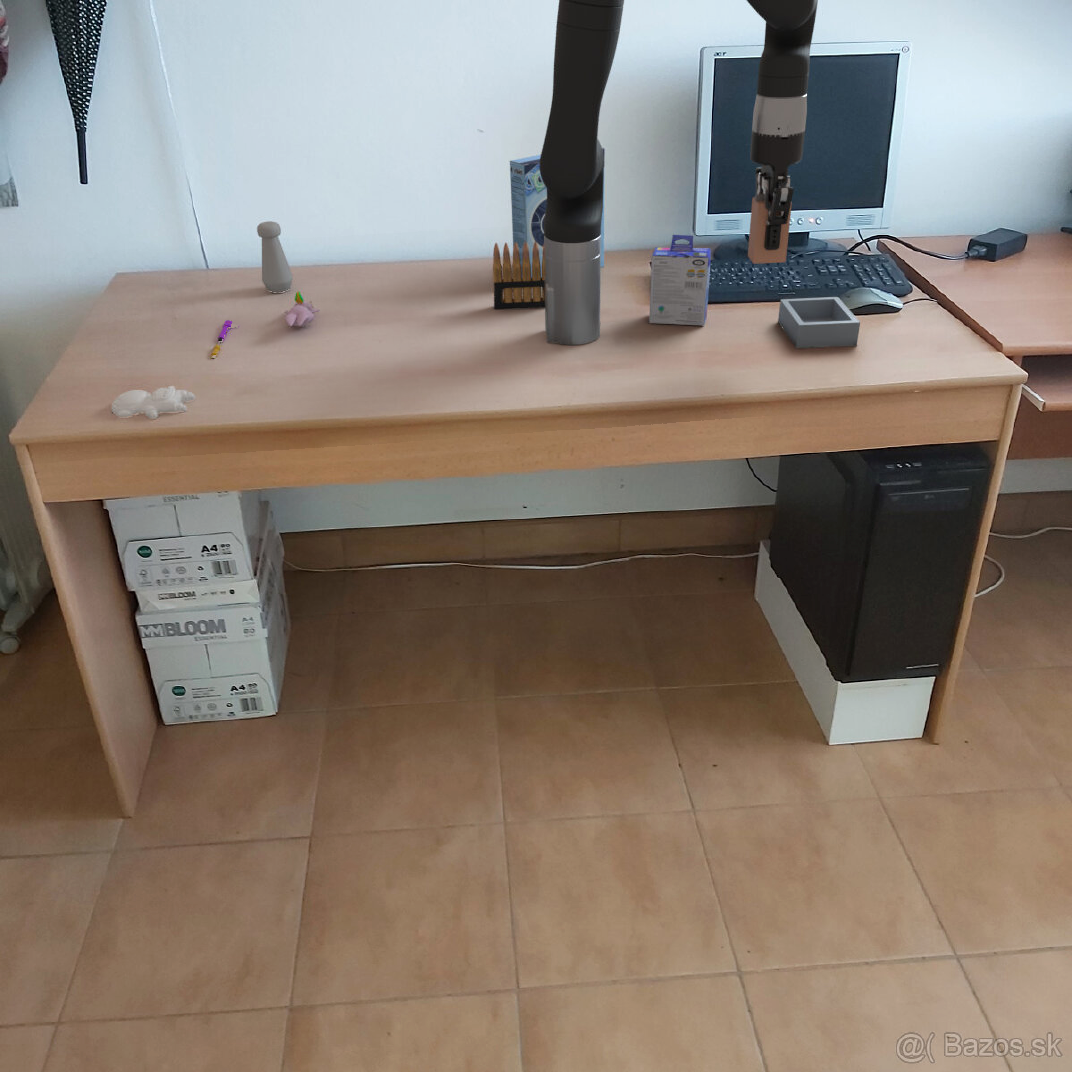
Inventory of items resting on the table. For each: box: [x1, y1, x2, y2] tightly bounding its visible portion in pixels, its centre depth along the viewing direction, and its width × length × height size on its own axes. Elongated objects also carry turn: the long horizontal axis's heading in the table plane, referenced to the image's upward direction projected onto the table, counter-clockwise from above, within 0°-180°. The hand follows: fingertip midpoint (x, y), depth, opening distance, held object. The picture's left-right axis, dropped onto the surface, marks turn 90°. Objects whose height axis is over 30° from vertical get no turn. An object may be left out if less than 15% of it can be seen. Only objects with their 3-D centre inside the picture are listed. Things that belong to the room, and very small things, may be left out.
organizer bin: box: [777, 296, 861, 349], centre depth 169 cm, size 10×12×4 cm
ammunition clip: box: [492, 241, 545, 311], centre depth 182 cm, size 11×2×12 cm, turn 93°
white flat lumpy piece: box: [110, 385, 196, 419], centre depth 153 cm, size 9×12×3 cm
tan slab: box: [747, 193, 793, 265], centre depth 154 cm, size 5×4×10 cm
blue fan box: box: [509, 147, 606, 278], centre depth 193 cm, size 20×5×23 cm, turn 127°
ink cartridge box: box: [648, 234, 712, 326], centre depth 173 cm, size 10×6×14 cm, turn 78°
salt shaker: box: [256, 220, 294, 292], centre depth 192 cm, size 6×6×13 cm
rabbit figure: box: [284, 290, 320, 327], centre depth 179 cm, size 6×6×15 cm
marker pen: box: [210, 319, 233, 358], centre depth 175 cm, size 3×1×16 cm
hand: (768, 244), depth 155 cm, fingers closed on tan slab, 4 cm apart
